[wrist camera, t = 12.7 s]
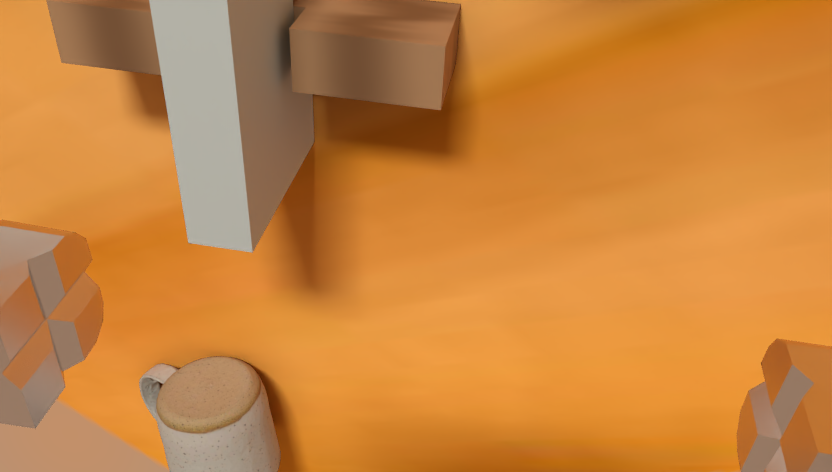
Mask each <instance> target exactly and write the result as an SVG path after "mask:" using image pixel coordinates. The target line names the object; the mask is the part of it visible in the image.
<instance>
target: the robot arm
mask: <svg viewBox="0 0 832 472" xmlns="http://www.w3.org/2000/svg"><path fill="white" fill-rule="evenodd" d="M92 260H93V259H92V256H91V253H90V250H89V247H88V243H87V240H86V238H84V237H83V236H81V235H79V234H77V233H75V232H70V231H64V230H58V229H52V228H47V227H41V226H35V225H30V224H24V223H18V222H13V221H7V220H0V423H3V424H9V425H16V426H22V427H29V428H36V427H37V425H38V424H39V423H40V421H41V420H42V419H43V417H44V415H45V414H46V413H47V411H48V410H49V409H50V407H51V406H52V405H53V403H54V402H55V400H56V399H57V398H58V396H59V395H60V393H61V392H62V391H63V389H64V388H65V381H64V374H63V371H64V370H66V369H68V368H70V367H72V366H74V365H76V364H78V363H79V362H81V361H83V360H85V358H86V357H87V355H88V354H89V352H90V351H91V349H92V348H93V346H94V345H95V343H96V341H97V338H98V335H99V332H100V329H101V326H102V323H103V299H102V295H101V291H100V287H99V286H98V285H97V284H96V283H95V282H94V281H93V280H92V279H91V278H90V277H89V276H88V275H87V274H86V273H85V270H86V269H87V267H88V266H89V264H90V263H91V261H92ZM761 366H762V370H763V374H764V378H765V382H763V383H761V384H759V385H758V386H756V387H754V388H752V389H751V390H749V391H748V394H747V396H746V399H745V401H744V404H743V406H742V409H741V411H740V417H739V424H738V430H737V453H738V458H739V464H740V470H741V472H832V347H831V346H824V345H818V344H811V343H804V342H797V341H790V340H783V339H776V340H775V341H774V342H773V343H772V344H771V345H770V346H769V347H768V349H767V351H766V354H765V356H764V358H763V360H762V362H761Z"/></svg>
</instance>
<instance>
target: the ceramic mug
mask: <svg viewBox="0 0 832 472" xmlns="http://www.w3.org/2000/svg"><path fill="white" fill-rule="evenodd" d="M159 382H160V383H162V384H163V385H162V387H161V389H160V383H159ZM139 386H140V392H141V395H142V398H143V400H144V402H145V404H146V406H147V408H148V410H149V411H150V413H151V414H152V416H153V417H154V418H155V419H156V421H157V424H158V428H159V432H160V436H161V439H162V442H163V445H164V449H165V454H166V459H167V462H168V466H169V470H170V472H277V471H278V468H279V465H280V458H281V451H280V447H279V443H278V439H277V436H276V432H275V427H274V423H273V419H272V415H271V411H270V408H269V402H268V397H267V393H266V390H265V387H264V385H263V383H262V381H261V379H260V377H259V375H258V374H257V372H256V371H255V370H254V369H253V368H252V367H251V366H250V365H249V364H247V363H245V362H243V361H242V360H239V359H236V358H231V357H223V356H216V357H207V358H203V359H199V360H196V361H193V362H191V363H189V364H186V365H185V366H183V367H182V368H180V369H179V370H178V369H177V368H175V367H173V366H171V365H167V364H157V365H155V366H154V367H153V368H151V369H150V370H149V371H147V372H146V373H145V374H144V375H143V376H142V377H141V379H140V382H139Z"/></svg>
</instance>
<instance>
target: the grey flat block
mask: <svg viewBox="0 0 832 472" xmlns="http://www.w3.org/2000/svg"><path fill="white" fill-rule="evenodd" d="M149 3H150V9H151V15H152V21H153V27H154V34H155V40H156V46H157V52H158V58H159V64H160V71H161V77H162V83H163V89H164V95H165V101H166V107H167V114H168V120H169V126H170V132H171V138H172V144H173V150H174V157H175V163H176V169H177V175H178V181H179V187H180V193H181V200H182V206H183V212H184V218H185V224H186V230H187V237H188V243H193V244H199V245H206V246H213V247H219V248H226V249H233V250H239V251H246V252H253V251H254V249H255V247H256V245H257V244H258V242H259V240H260V238H261V236H262V235H263V233H264V231H265V229H266V227H267V226H268V224H269V222H270V220H271V219H272V217H273V215H274V213H275V211H276V210H277V208H278V206H279V204H280V202H281V201H282V199H283V197H284V195H285V193H286V192H287V190H288V188H289V186H290V184H291V183H292V181H293V179H294V177H295V176H296V174H297V172H298V170H299V168H300V167H301V165H302V163H303V161H304V159H305V158H306V156H307V154H308V152H309V150H310V149H311V147H312V145H313V143H314V118H313V94H307V93H299V92H293V90H292V72H291V53H290V34H289V28H290V27H291V26H292V24H293V23H294V10H293V0H149Z"/></svg>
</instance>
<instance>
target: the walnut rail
mask: <svg viewBox="0 0 832 472" xmlns="http://www.w3.org/2000/svg"><path fill="white" fill-rule="evenodd" d="M46 1H47V5H48V9H49V13H50V17H51V21H52V25H53V29H54V33H55V38H56V42H57V46H58V50H59V54H60V58H61V62H62V63H67V64H75V65H83V66H91V67H99V68H107V69H115V70H123V71H131V72H139V73H147V74H155V75H161V71H160V64H159V58H158V52H157V46H156V40H155V34H154V27H153V21H152V15H151V9H150V3H149V0H46ZM460 8H461V4H454V3H445V2H436V1H426V0H293V10H294V23H293V24H292V26H291V27H290V28H289V34H290V53H291V72H292V90H293V92H299V93H307V94H315V95H323V96H331V97H339V98H347V99H355V100H363V101H371V102H378V103H386V104H394V105H402V106H410V107H418V108H426V109H434V110H441V108H442V105H443V102H444V99H445V96H446V93H447V89H448V86H449V83H450V80H451V77H452V74H453V71H454V68H455V65H456V56H457V44H458V32H459V20H460Z"/></svg>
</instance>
